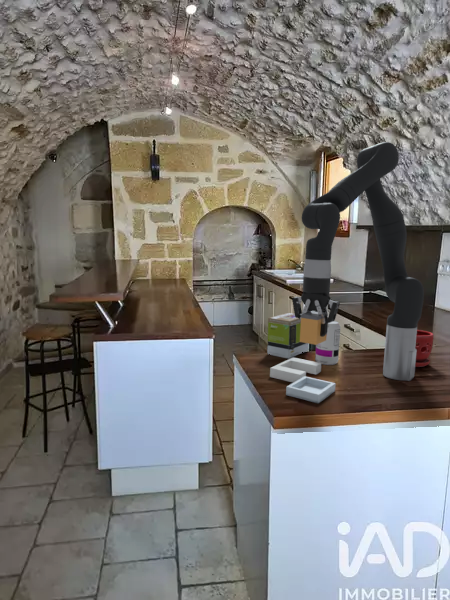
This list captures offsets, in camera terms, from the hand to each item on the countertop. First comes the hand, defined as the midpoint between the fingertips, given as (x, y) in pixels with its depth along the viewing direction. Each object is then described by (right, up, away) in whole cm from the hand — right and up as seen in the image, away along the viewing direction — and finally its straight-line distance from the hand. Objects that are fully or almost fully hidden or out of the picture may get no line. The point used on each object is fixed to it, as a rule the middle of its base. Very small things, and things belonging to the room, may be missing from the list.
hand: (313, 334), depth 124 cm
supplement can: (+12, -13, +34) cm, 38 cm away
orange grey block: (0, -2, 0) cm, 2 cm away
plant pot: (+43, -14, +35) cm, 57 cm away
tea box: (-1, -11, +46) cm, 47 cm away
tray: (0, -17, +2) cm, 18 cm away
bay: (-2, -15, +19) cm, 24 cm away
